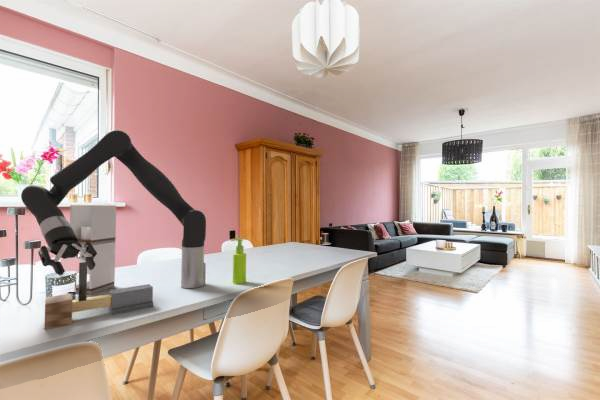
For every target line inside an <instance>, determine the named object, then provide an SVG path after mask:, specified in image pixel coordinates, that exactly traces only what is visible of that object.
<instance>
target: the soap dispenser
mask: <svg viewBox="0 0 600 400" xmlns="http://www.w3.org/2000/svg"><path fill="white" fill-rule="evenodd" d="M230 241H231V242H235V241H236V242H237V245H236V247H235V253H233V254H232V284H233V283H235V284H234V285H242V284H241V283H244V284H246V283H247V253H245V252H244V245H243V241H244V238H233V239H231V240H230ZM245 282H246V283H245Z"/></svg>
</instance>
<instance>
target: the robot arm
mask: <svg viewBox="0 0 600 400" xmlns="http://www.w3.org/2000/svg"><path fill="white" fill-rule="evenodd" d="M113 158H116V159H117V160H118V161H119V162H121V163H122V164H123V165H124V166H125V167H126V168H127V169H129V171H130V172H131V173H132V175H133V176H134V177H135V178H136V179H137V181H138V182H139V183H140V184H141V185H142V187H144V188H145V189H146V191H147V192H148V193H149V194H150V195H152V196H153V197H154V198H155V199H156V200H157V201H158V202H159V203H161V204H162V205H163V206H164V207H166V208H167V209H168V210H169V212H171V213H172V214H173V215H174V217H175V218H176V219H177V220H178V222H180V224H181V225H182V227H183V233H182V240H181V269H180V270H181V271H180V272H181V273H180V277H181V279H180V285H181V288H183V289H197V288H201V287H202V286H206V273H207V271H206V267H207V265H206V262H205V241H206V234H207V219H206V216H205V214H204V212H202V211H201V210H198V209H195V208H193V206H191V205H190V204H189V203H188V202H187V201H186V200H185V199H184V198H183V197H182V196H181V194H180V192H179V191H178V189H177V188H176V186H175V185H174V184H173V183H172V181H171V180H170V178H168V177H167V175H165V173H163V171H161V170H160V169H159V168H158V167H157V166H155V165H154V164H153V163H151V162H150V161H149V160H147V158H145V157H144V156H142V154H141V153H140V152H139V151H138V149H137V148H136V147H135V146H134V144H133V143H132V139H131V138H130V136H129V135H128V133H126V132H124V131H123V130H120V129H113V130H110V131H108V132H106V133H105V135H104V136H102V138H101V139H99V141H98V142H96V144H95V145H94V146H92V147H91V148H90V149H89V150H88V151H86V152H85V153H84V154H83V155H81V156H79V158H77V159H75V160H74V161H72V162H71V163H69V164H68V165H67V166H65V167H63V168H61V169H60V170H59V171H58V172H56V173H55V174H54V175H52V176H51V177H50V180H49V181H50V183H51V184H52V185H53V186H52V187H51V188H50V190H49V189H47V188H45V187H44V186H41V185H38V184H31V185H28V186H26V187H24V188H23V190H22V191H21V194H20V199H21V201H22V203H23V204H24V206H25V207H26V208H27V210H28V211H29V212H30V213H31V214H32V215H33V216H34V217H35V219H36V220H35V221H36V222H37V224H38V226H39V228H40V231H41V234H42V236H43V238H44V241H45V242H46V245H47V246H46V245H42V246H41V247H40V249H39V250H38V251H37V252H38V253H37V254H38V257H39V259H40V261H41V264H42V266H43V267H47V266H51V267H52V269H53V270H54V272H55V274H56V275H58V276H63V275H64V274H65V272H66V271H65V268H64V266H63V264H62V262H61V261H60V260H61V259H63V260H64V259H65V260H66V259H73V258H76V259H78V260H80V259H83V260H85V261H86V262H87V266H88V268H89V270H93V268H94V267H95V262H94V260H93V259H94V257H95V256H96V255H97V252H96V251H95V249H94V248H93V246H92V245H91V243H90V242H86V243H85V244H80V243H79V242H78V240H77V237H76V235H75V233H74V231H73V229H72V228H71V226H70V221H68V219H67V218H66V216H65V215H64V213H63V211H62V209H60V208H59V207H58V206H59V205H60V204H61V203H62V201H63V200H64V199H65V198H66V196H67V195H68V194H69V193H70V191H72V190H73V189H74V188H76V187H77V186H78V185H80V184H81V183H82V182H84V181H85V180H86V179H88V178H89V176H90V175H92V174H93V173H94V172H95V171H96V170H97V169H98V168H100V167H101V166H102V165H103V164H105V163H106V162H107V161H109V160H112V159H113ZM79 252H81V254H79ZM50 253H51V254H52V255H55V257H54V258H53V259H52V258H51V256H50ZM84 255H85V256H87V257H85V256H84Z"/></svg>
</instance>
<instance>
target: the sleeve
mask: <svg viewBox="0 0 600 400" xmlns="http://www.w3.org/2000/svg"><path fill="white" fill-rule="evenodd" d="M153 289H154V288H153V286H152V285H151V284H150V283H147V284H141V285H135V286H130V287H129V286H128V287H121V288H115V289H110V290H109V294H111V295H112V301H111V306H108V310H109V312H110V314H111V316H115V315H118V314H125V313H128V312H134V311H140V310H144V309H148V308H149V309H150V308H153V307H154V302H153V299H154V298H153V296H154V295H153V294H154V293H153V292H154V290H153Z"/></svg>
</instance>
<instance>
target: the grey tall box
mask: <svg viewBox="0 0 600 400" xmlns="http://www.w3.org/2000/svg"><path fill="white" fill-rule="evenodd" d="M69 207H70V209H69V224H70V226H71V228H72V229H73V231H74V233H75V235H76V237H77V240H78V242H79V243H80V244H85V243H86V242H90V243H91V245H92V246H93V248H94V249H95V251H96V252H97V255H96V256H95V257H94V259H93V260H94V262H95V267H94V268H93V270H89V268H88V266H87V275H89V278H88V279H89V280H88V281H87V294H86V295H93V294H96V293H98V292H102V291H104V290H107V289H110V288H113V287H115V277H116V275H115V272H116V237H117V236H116V233H117V232H116V229H117V228H116V226H117V205H111V204H110V205H107V204H106V205H100V204H99V205H95V204H92V205H91V204H89V205H87V204H86V205H85V204H84V205H83V204H80V205H79V204H70V205H69ZM79 252H80V251H79ZM80 254H81V252H80ZM80 254H79V255H80ZM84 256H85V255H84ZM85 257H87V256H85ZM81 262H86V261H85V260H83V259H79V263H81ZM78 293H79V284H76V293H75V294H78Z"/></svg>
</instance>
